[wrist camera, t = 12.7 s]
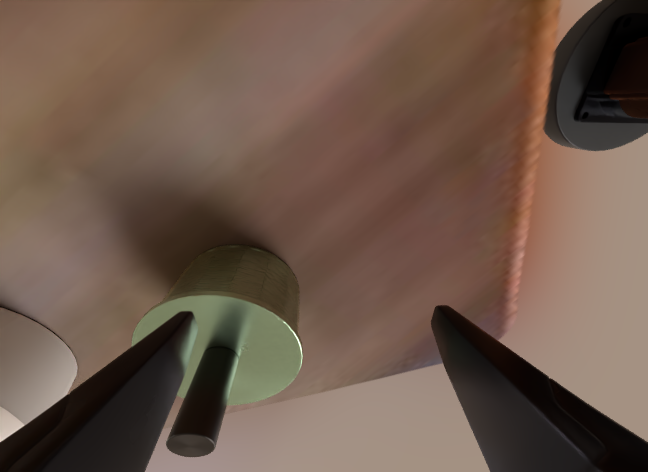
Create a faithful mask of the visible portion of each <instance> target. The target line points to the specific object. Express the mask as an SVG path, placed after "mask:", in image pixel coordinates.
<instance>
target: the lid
mask: <svg viewBox="0 0 648 472" xmlns="http://www.w3.org/2000/svg"><path fill="white" fill-rule="evenodd" d="M180 311H192V312H193V313H194V316H195V319H196V322H197V325H198V334H197V337H196V340H195V344H194V347H193V350H192V354H191V357H190V360H189V364H188V367H187V370H186V373H185V376H184V378H183V381H182V384H181V386H180V388H179V391H178V393H177V396H179V397H182V398H184V401H183V403H182V406H181V408H180V410H179V413H178V415H177V417H176V420H175V422H174V425H173V427H172V429H171V432H170V434H169V437H168V439H167V441H166V446H167V448H168V449H169V450H170V451H171V452H173V453H175V454H178V455H180V456H185V457H200V456H205V455H208V454H209V453H211V452H212V451H213V450H214V449H215V446H216V442H217V439H218V435H219V431H220V428H221V424H222V420H223V417H224V413H225V409H226V406H227V405H241V404H248V403H253V402H257V401H261V400H263V399H266V398H269V397H271V396H273V395H275V394H277V393H279V392H280V391H282V390H283V389H285V388H286V387H287V386H288V385H289V384H290V383H291V382H292V381H293V380H294V379H295V377H296V376H297V374H298V372H299V370H300V368H301V364H302V357H303V348H302V342H301V339H300V336H299V334H298V332H297V330H296V329H295V327H294V326H293V325H292V323H291V322H290V321H289V320H288V319H287V318H286V317H285V316H284V315H283V314H282V313H280V312H279V311H278V310H276V309H275V308H273V307H271V306H270V305H268V304H266V303H264V302H262V301H260V300H257V299H255V298H252V297H249V296H246V295H243V294H238V293H234V292H227V291H218V290H203V291H192V292H187V293H182V294H179V295H176V296H172V297H170V298H168V299H165V300H163V301H161V302H160V303H158V304H157V305H155V306H153V307H152V308H151V309H150V310H149V311H148V312H147V313H146V314H145V315H144V316H143V318H142V319H141V320H140V321H139V323H138V324H137V326H136V328H135V330H134V333H133V337H132V346H134V345H135V344H136V343H138V342H139V341H140V340H142V339H143V338H144V337H146V336H147V335H149V334H150V333H151V332H153V331H154V330H155V329H157V328H158V327H159V326H161V325H162V324H163V323H165V322H166V321H167V320H169V319H170V318H171V317H173V316H174V315H176V314H177V313H178V312H180Z"/></svg>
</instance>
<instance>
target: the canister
mask: <svg viewBox="0 0 648 472" xmlns="http://www.w3.org/2000/svg"><path fill="white" fill-rule="evenodd" d="M203 290H218V291H227V292H234V293H238V294H243V295H246V296H249V297H252V298H255V299H257V300H260V301H262V302H264V303H266V304H268V305H270V306H271V307H273V308H275V309H276V310H278V311H279V312H280V313H282V314H283V315H284V316H285V317H286V318H287V319H288V320H289V321H290V322H291V323H292V325H293V326H294V327H295V329H296V330H297V332H298V325H299V285H298V282H297V280H296V277H295V275H294V274H293V272H292V271H291V269H290V268H289V267H288V266H287V265H286V264H285V263H284V262H283V261H282V260H281V259H280V258H278V257H277V256H275V255H274V254H272V253H270V252H268V251H266V250H263V249H260V248H257V247H253V246H248V245H238V244H233V245H224V246H218V247H215V248H212V249H210V250H208V251H205V252H204V253H202V254H201V255H199V256H198V257H197V258H196V259H194V260H193V262H192V263H191V264H190V265H189V266H188V267H187V268H186V269H185V271H184V272H183V273H182V275H181V276H180V277H179V279H178V280H177V281H176V283H175V284H174V286H173V287H172V288H171V290H170V291H169V292H168V294H167V295H166V296H165V298H164V299H163V300H165V299H168V298H170V297H172V296H176V295H179V294H182V293H187V292H192V291H203ZM163 300H162V301H163Z"/></svg>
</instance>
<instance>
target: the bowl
mask: <svg viewBox="0 0 648 472" xmlns="http://www.w3.org/2000/svg"><path fill="white" fill-rule="evenodd" d="M76 375H77V363H76V359H75V357H74V355H73V353H72V352H71V350H70V349H69V348H68V347H67V345H66V344H65V343H64V342H63V341H62V340H61V339H60V338H58V337H57V336H56V335H55V334H54V333H53V332H51V331H50V330H48V329H47V328H45V327H43V326H42V325H40V324H39V323H37V322H35V321H33V320H31V319H29V318H27V317H25V316H23V315H20V314H17V313H15V312H12V311H9V310H7V309H4V308H0V442H1V441H3V440H4V439H6V438H7V437H8V436H10V435H11V434H13V433H14V432H16V431H17V430H19V429H20V428H22V427H23V426H25V425H26V424H27V423H29V422H30V421H32V420H33V419H34V418H36V417H37V416H39V415H40V414H41V413H43V412H44V411H45V410H47V409H48V408H50V407H51V406H52V405H54V404H55V403H56V402H58V401H59V400H61V399H62V398H63V397H65V396H66V395H67V393H68V391H69V389H70V387H71V385H72V383H73V381H74V379H75V377H76Z"/></svg>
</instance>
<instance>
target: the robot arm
mask: <svg viewBox="0 0 648 472" xmlns="http://www.w3.org/2000/svg"><path fill="white" fill-rule="evenodd" d="M624 21H625V23H624ZM623 23H624V26H623ZM583 113H584V115H583ZM582 115H583V117H582ZM574 121H575V122H585V123H646V124H648V14H644V13H629V14H625V15H622V16H620V17H619V18H618V19H617V20H616V21H615V23H614V24H613V27H612V29H611V31H610V34H609V36H608V38H607V41H606V43H605V45H604V47H603V50H602V52H601V54H600V57H599V59H598V61H597V64H596V66H595V68H594V71H593V73H592V75H591V78H590V80H589V82H588V85H587V87H586V89H585V91H584V94H583V96H582V98H581V101H580V103H579V105H578V108H577V110H576V112H575V115H574ZM431 327H432V330H433V333H434V336H435V339H436V342H437V346H438V349H439V352H440V355H441V358H442V361H443V364H444V367H445V369H446V372H447V374H448V376H449V379H450V381H451V383H452V385H453V388H454V390H455V392H456V394H457V397H458V399H459V401H460V403H461V406H462V408H463V410H464V413H465V415H466V417H467V419H468V422H469V424H470V426H471V429H472V431H473V433H474V435H475V438H476V440H477V442H478V445H479V447H480V449H481V451H482V454H483V456H484V458H485V460H486V463H487V465H488V467H489V470H490V472H648V442H646V441H645V440H644V439H642V438H640V437H639V436H637V435H635V434H634V433H633V432H631V431H629V430H628V429H626V428H625V427H623V426H621V425H620V424H618V423H617V422H615V421H614V420H612V419H610V418H609V417H607V416H606V415H604V414H603V413H601V412H600V411H598V410H597V409H595V408H594V407H592V406H590V405H589V404H587V403H586V402H584V401H583V400H582V399H580V398H579V397H577V396H575V395H574V394H573V393H571V392H570V391H568V390H567V389H566V388H564V387H563V386H561V385H560V384H558V383H557V382H556V381H554V380H553V379H551V378H550V379H549V377H548V376H547V375H546V374H544V373H543V372H541V371H540V370H538V369H537V368H536V367H534V366H533V365H531V364H530V363H528V362H527V361H526V360H524V359H523V358H521V357H520V356H519V355H517V354H516V353H514V352H513V351H511V350H510V349H509V348H507V347H506V346H505V345H503V344H502V343H500V342H499V341H497V340H496V339H495V338H493V337H492V336H490V335H489V334H488V333H486V332H485V331H483V330H482V329H480V328H479V327H478V326H476V325H475V324H473V323H472V322H471V321H469V320H468V319H466V318H465V317H463V316H462V315H461V314H459V313H458V312H456V311H455V310H454V309H452V308H451V307H449V306H447V305H438V306H436V307H435V310H434V313H433V317H432V320H431ZM197 334H198V325H197V322H196V319H195V316H194V313H193V312H192V311H180V312H178V313H177V314H176V315H174V316H173V317H171V318H170V319H169V320H167V321H166V322H165V323H163V324H162V325H161V326H159V327H158V328H157V329H155V330H154V331H153V332H151V333H150V334H149V335H147V336H146V337H144V338H143V339H142V340H140V341H139V342H138V343H136V344H135V345H134V346H132V347H131V348H130V349H128V350H127V351H126V352H124V353H123V354H121V355H120V356H119V357H117V358H116V359H115V360H113V361H112V362H111V363H109V364H108V365H107V366H105V367H104V368H103V369H101V370H100V371H99V372H97V373H96V374H94V375H93V376H92V377H90V378H89V379H88V380H86V381H85V382H84V383H82V384H81V385H80V386H78V387H77V388H76V389H74V390H73V391H71V392H70V395H69V394H68V395H66V396H65V397H63V398H62V399H61V400H59V401H58V402H56V403H55V404H54V405H52V406H51V407H50V408H48V409H47V410H45V411H44V412H43V413H41V414H40V415H39V416H37V417H36V418H34V419H33V420H32V421H30V422H29V423H27V424H26V425H25V426H23V427H22V428H20V429H19V430H17V431H16V432H14V433H13V434H11V435H10V436H8V437H7V438H6V439H4V440H3V441H1V442H0V472H145V470H146V467H147V465H148V463H149V460H150V458H151V455H152V453H153V451H154V448H155V446H156V443H157V441H158V439H159V436H160V434H161V431H162V429H163V427H164V424H165V422H166V419H167V417H168V415H169V412H170V410H171V408H172V405H173V403H174V400H175V398H176V396H177V393H178V391H179V388H180V386H181V384H182V381H183V378H184V376H185V373H186V370H187V367H188V364H189V360H190V357H191V354H192V350H193V347H194V344H195V340H196V337H197Z"/></svg>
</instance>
